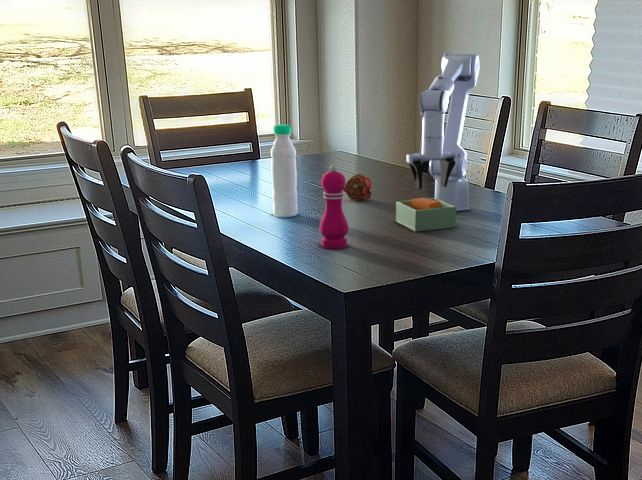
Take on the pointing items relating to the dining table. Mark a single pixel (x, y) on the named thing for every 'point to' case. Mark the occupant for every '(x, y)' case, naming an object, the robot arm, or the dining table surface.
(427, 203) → the orange rectangular block
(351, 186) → the brown rough oval
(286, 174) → the water bottle
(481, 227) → the dining table surface
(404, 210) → the open green box
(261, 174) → the dining table surface
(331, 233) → the pepper mill
